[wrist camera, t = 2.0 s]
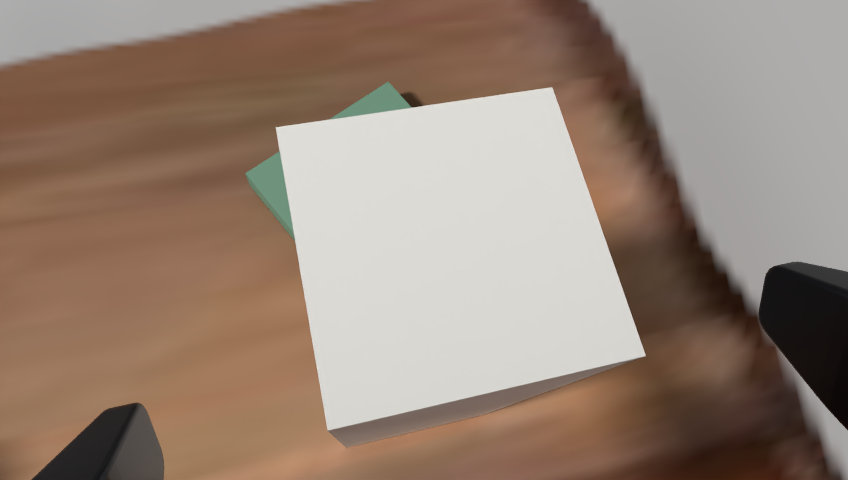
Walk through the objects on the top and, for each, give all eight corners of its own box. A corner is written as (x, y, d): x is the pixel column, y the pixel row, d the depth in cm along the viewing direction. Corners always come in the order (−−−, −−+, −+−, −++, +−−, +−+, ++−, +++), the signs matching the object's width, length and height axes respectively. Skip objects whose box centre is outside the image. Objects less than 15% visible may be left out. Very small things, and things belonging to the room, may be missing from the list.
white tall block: (483, 414, 20) (645, 355, 9) (346, 447, 19) (327, 430, 8) (450, 283, 21) (552, 87, 10) (321, 309, 20) (275, 127, 9)
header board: (473, 191, 23) (487, 159, 20) (337, 293, 21) (334, 272, 18) (387, 96, 24) (389, 55, 21) (250, 185, 22) (236, 151, 19)
